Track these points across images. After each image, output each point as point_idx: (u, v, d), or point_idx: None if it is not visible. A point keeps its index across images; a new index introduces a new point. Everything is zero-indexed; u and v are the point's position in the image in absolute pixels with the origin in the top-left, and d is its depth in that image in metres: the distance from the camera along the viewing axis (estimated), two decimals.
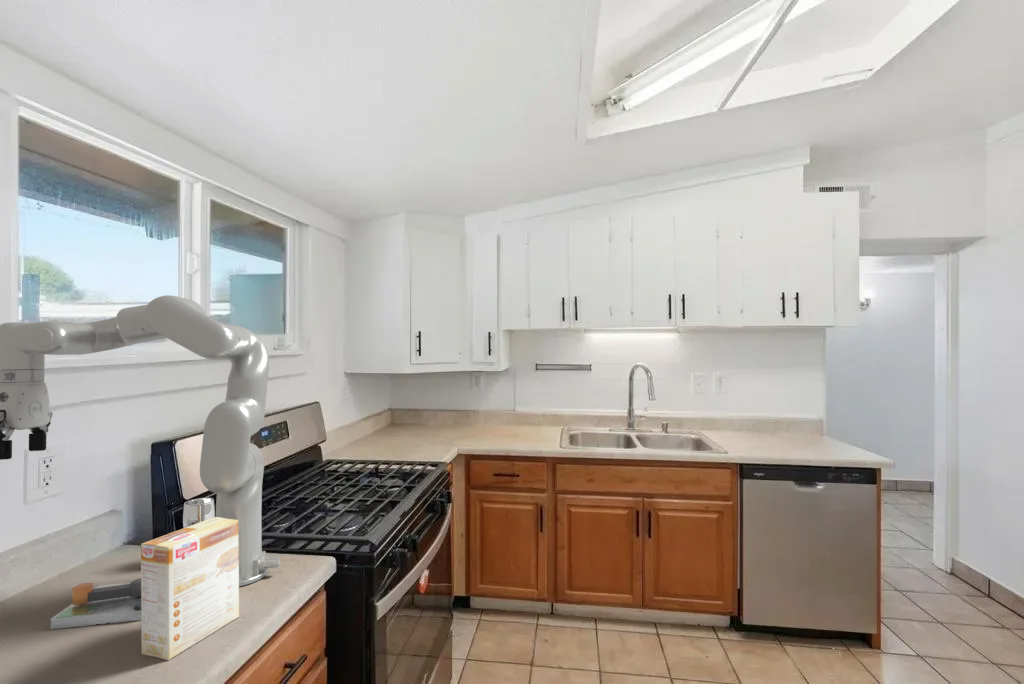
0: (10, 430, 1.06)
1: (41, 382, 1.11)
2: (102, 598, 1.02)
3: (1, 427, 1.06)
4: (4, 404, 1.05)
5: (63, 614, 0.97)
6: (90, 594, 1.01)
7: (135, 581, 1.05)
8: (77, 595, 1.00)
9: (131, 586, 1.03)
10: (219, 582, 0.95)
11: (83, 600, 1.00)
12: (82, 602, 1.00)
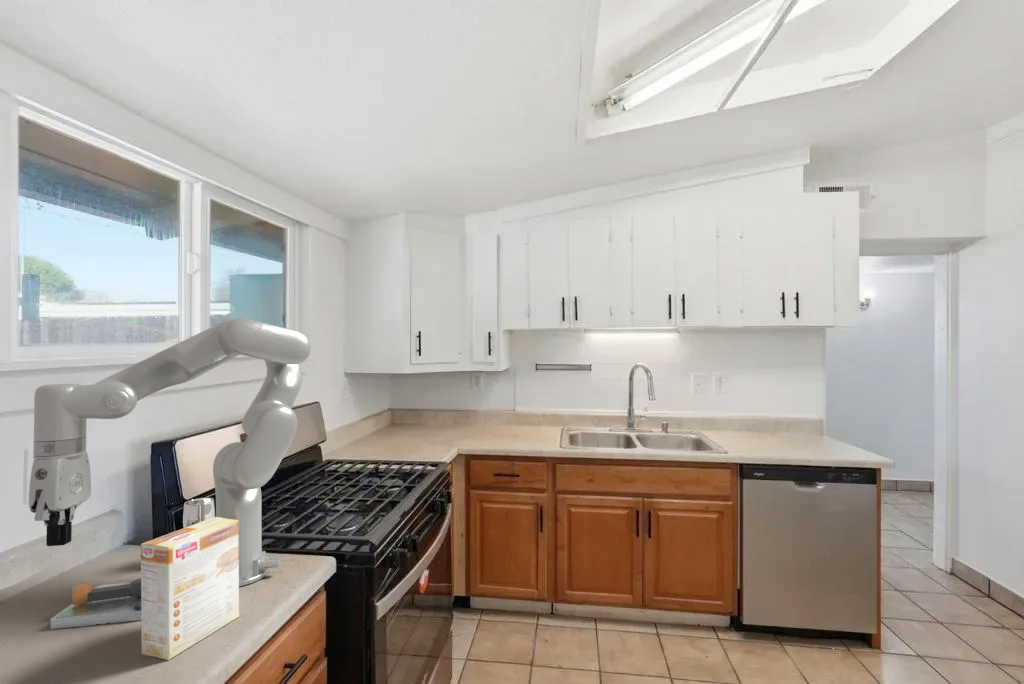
0: (61, 513, 0.94)
1: (83, 452, 0.96)
2: (102, 598, 1.02)
3: None
4: (42, 482, 0.90)
5: (63, 614, 0.97)
6: (90, 594, 1.01)
7: (135, 581, 1.05)
8: (77, 595, 1.00)
9: (131, 586, 1.03)
10: (219, 582, 0.95)
11: (83, 600, 1.00)
12: (82, 602, 1.00)
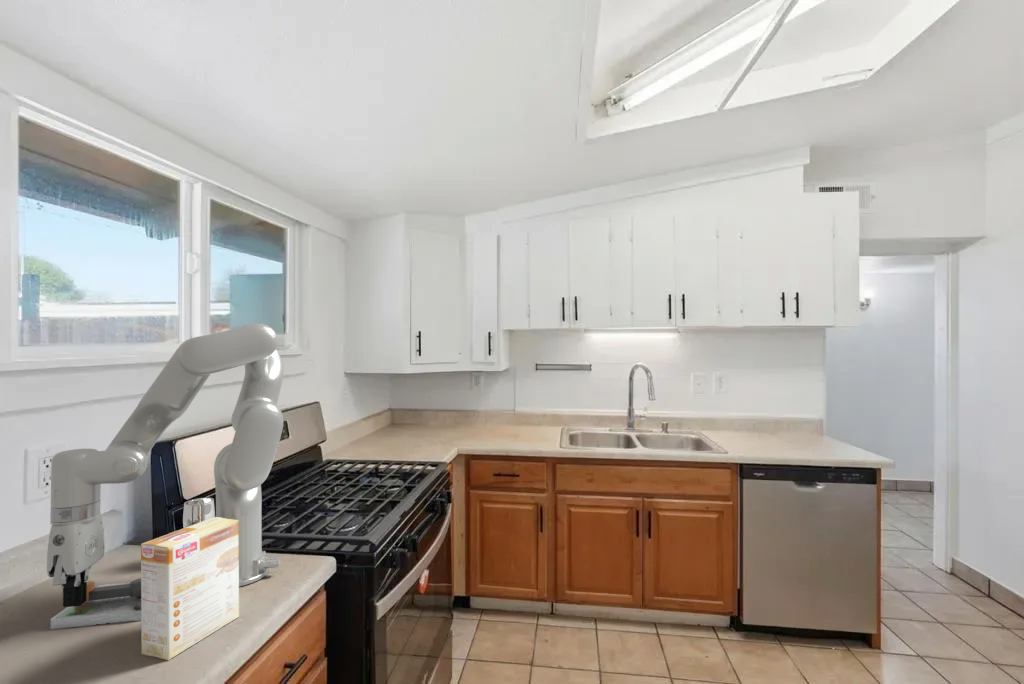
0: (77, 576, 0.97)
1: (97, 515, 1.00)
2: (103, 597, 1.02)
3: (56, 574, 0.94)
4: (60, 548, 0.94)
5: (63, 614, 0.97)
6: (91, 593, 1.02)
7: (136, 581, 1.05)
8: None
9: (131, 586, 1.03)
10: (219, 582, 0.95)
11: None
12: None
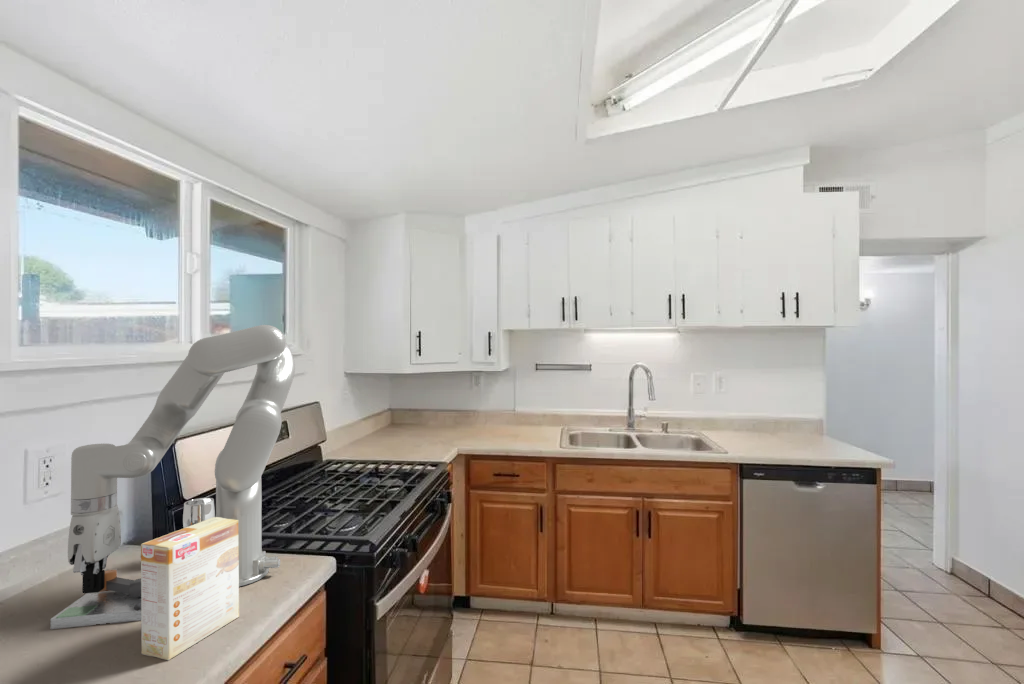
0: (95, 564, 1.03)
1: (115, 507, 1.06)
2: (114, 589, 1.06)
3: (76, 562, 1.00)
4: (80, 537, 1.00)
5: (63, 614, 0.97)
6: (108, 582, 1.06)
7: (138, 580, 1.05)
8: None
9: (129, 585, 1.04)
10: (219, 582, 0.95)
11: None
12: None
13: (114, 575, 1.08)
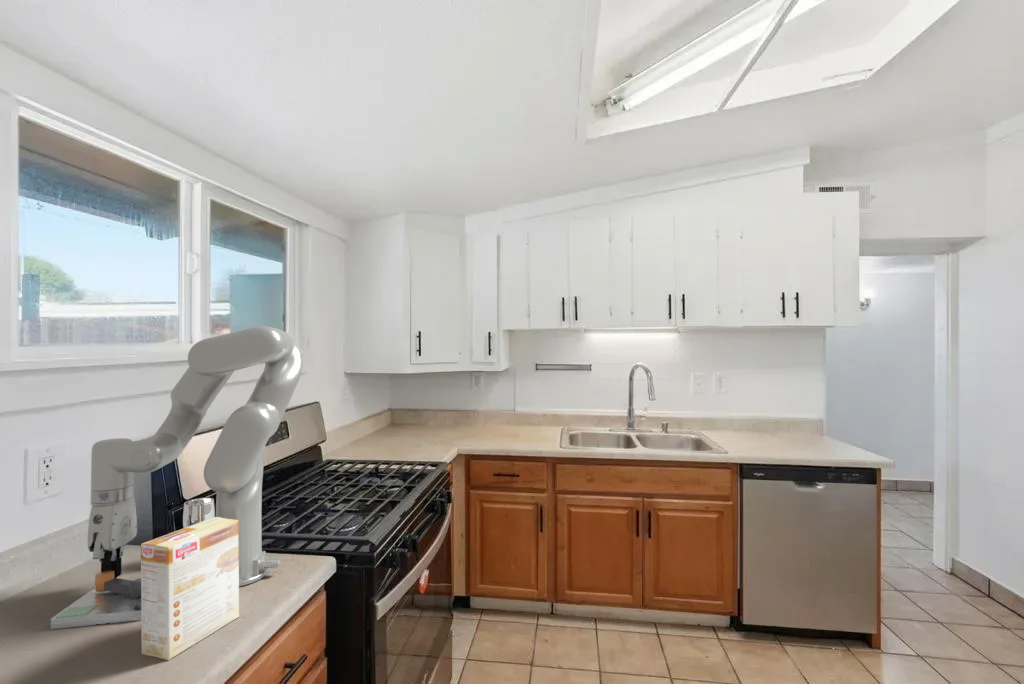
0: (113, 552, 1.09)
1: (131, 498, 1.12)
2: (113, 590, 1.05)
3: (95, 549, 1.06)
4: (99, 526, 1.06)
5: (63, 614, 0.97)
6: (106, 583, 1.06)
7: (138, 580, 1.05)
8: (96, 582, 1.06)
9: (129, 585, 1.04)
10: (219, 582, 0.95)
11: (100, 588, 1.06)
12: (99, 589, 1.06)
13: (112, 576, 1.07)
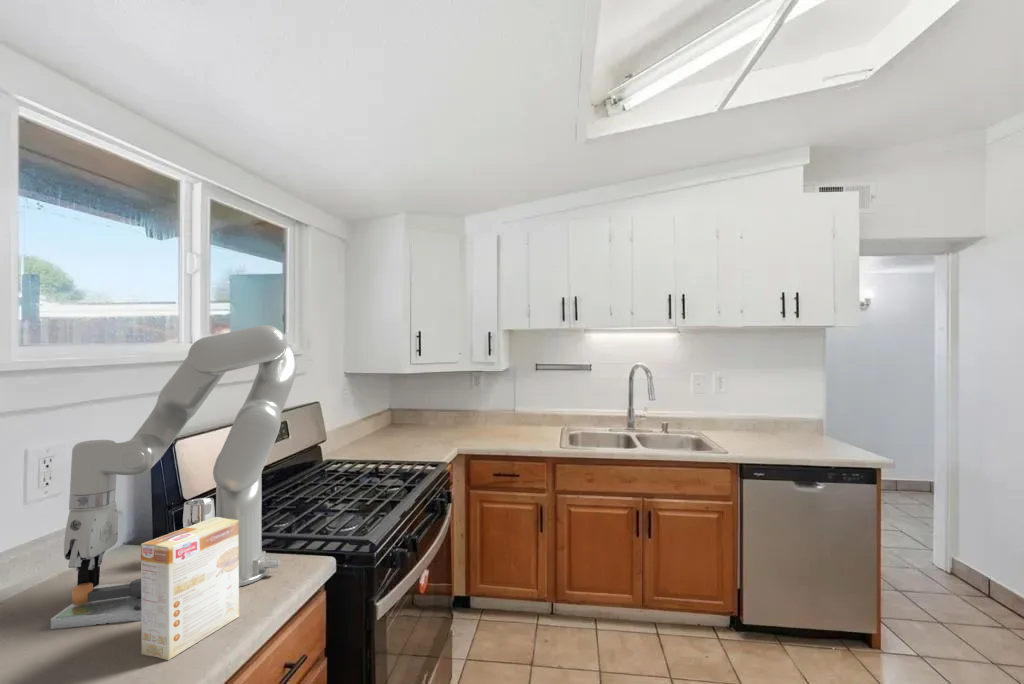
0: (91, 560, 1.03)
1: (112, 503, 1.06)
2: (102, 598, 1.02)
3: None
4: (76, 533, 1.00)
5: (63, 614, 0.97)
6: (90, 594, 1.01)
7: (135, 581, 1.05)
8: (77, 595, 1.00)
9: (131, 586, 1.03)
10: (219, 582, 0.95)
11: (83, 600, 1.00)
12: (82, 602, 1.00)
13: (92, 586, 1.02)
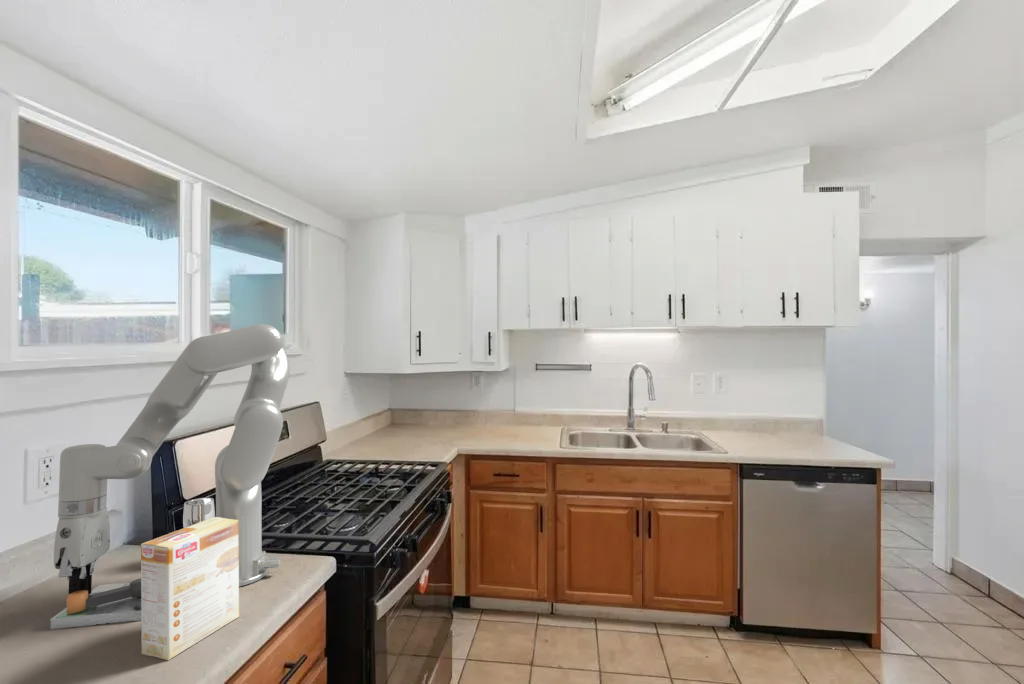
0: (82, 568, 1.00)
1: (104, 510, 1.03)
2: (102, 602, 1.00)
3: (62, 566, 0.97)
4: (66, 541, 0.97)
5: (63, 614, 0.97)
6: (88, 600, 0.99)
7: (135, 582, 1.04)
8: (75, 602, 0.97)
9: (134, 586, 1.03)
10: (219, 582, 0.95)
11: (82, 607, 0.98)
12: (81, 609, 0.97)
13: None
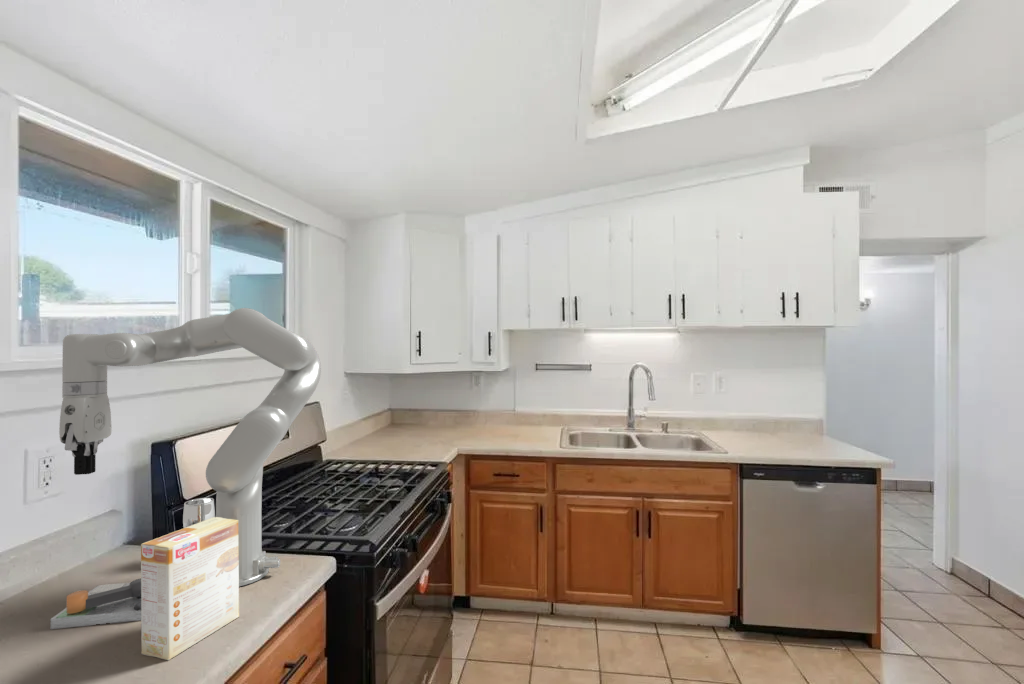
0: (86, 446, 1.07)
1: (105, 394, 1.10)
2: (102, 603, 1.00)
3: None
4: (71, 417, 1.04)
5: (63, 614, 0.97)
6: (88, 600, 0.99)
7: (135, 582, 1.04)
8: (75, 603, 0.97)
9: (134, 586, 1.03)
10: (219, 582, 0.95)
11: (82, 607, 0.98)
12: (81, 609, 0.97)
13: None
